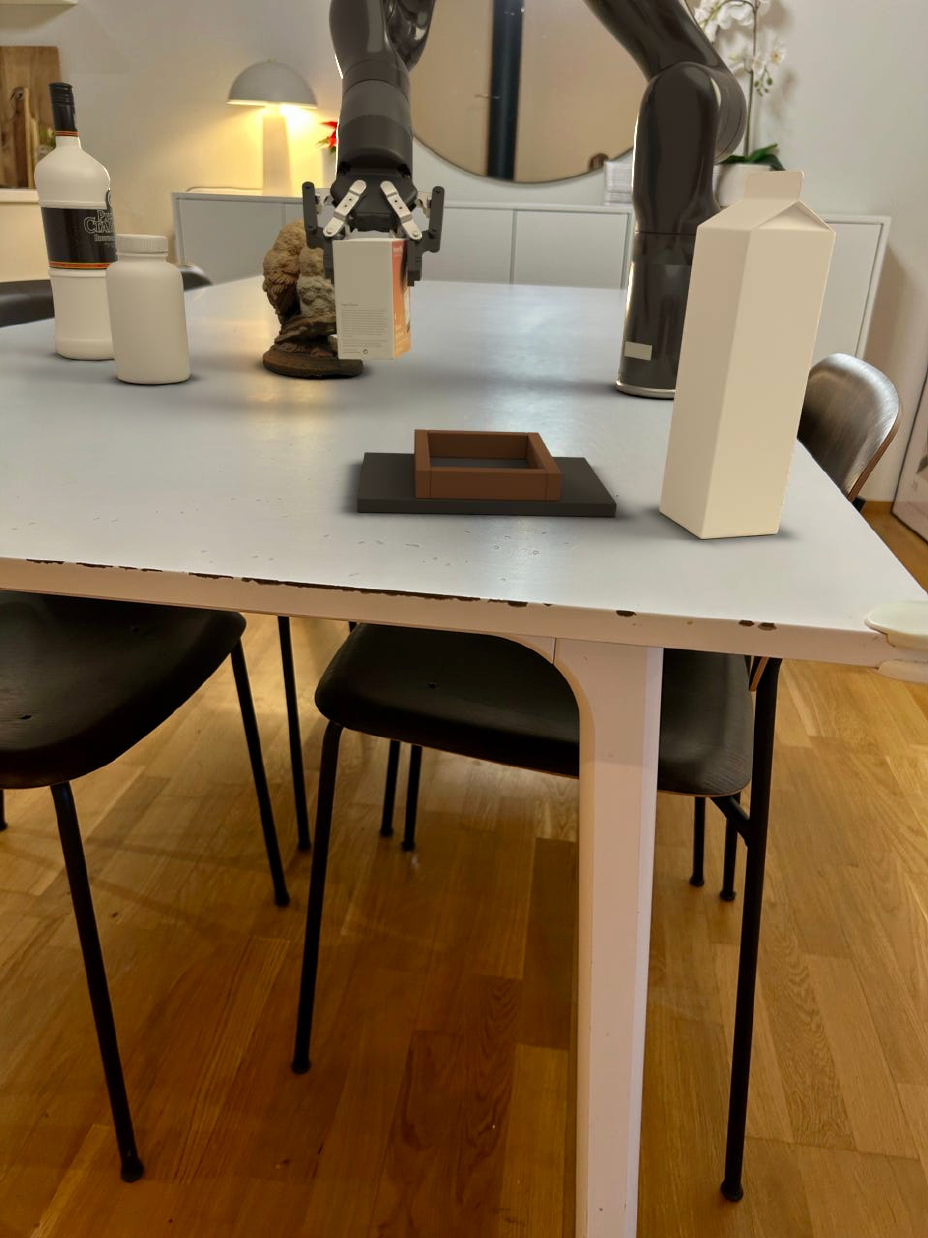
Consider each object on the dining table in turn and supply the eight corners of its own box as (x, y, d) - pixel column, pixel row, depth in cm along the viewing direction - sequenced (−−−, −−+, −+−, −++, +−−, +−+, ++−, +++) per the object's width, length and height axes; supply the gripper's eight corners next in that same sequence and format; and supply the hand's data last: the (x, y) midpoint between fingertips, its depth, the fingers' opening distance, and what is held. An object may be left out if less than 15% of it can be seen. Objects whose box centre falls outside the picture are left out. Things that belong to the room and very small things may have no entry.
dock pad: (583, 468, 74) (587, 432, 73) (615, 517, 63) (620, 475, 62) (364, 464, 73) (364, 427, 72) (357, 512, 62) (356, 469, 61)
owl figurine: (386, 378, 108) (387, 222, 100) (291, 383, 102) (284, 219, 95) (333, 355, 122) (330, 217, 115) (247, 358, 117) (238, 214, 109)
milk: (700, 540, 60) (757, 167, 50) (657, 511, 65) (702, 169, 55) (780, 534, 61) (849, 172, 52) (731, 506, 66) (787, 172, 57)
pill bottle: (206, 379, 103) (195, 236, 97) (149, 388, 97) (133, 237, 91) (158, 370, 107) (145, 232, 101) (101, 378, 101) (83, 232, 94)
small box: (394, 362, 84) (391, 240, 80) (336, 360, 85) (330, 239, 81) (412, 349, 92) (411, 237, 87) (359, 347, 92) (354, 236, 88)
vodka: (72, 348, 119) (35, 84, 106) (143, 350, 119) (115, 88, 106) (44, 359, 110) (0, 75, 98) (121, 362, 111) (87, 79, 98)
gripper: (445, 177, 94) (447, 308, 88) (306, 172, 93) (298, 304, 87) (448, 114, 87) (451, 253, 81) (298, 108, 86) (289, 247, 80)
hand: (372, 279), depth 84 cm, fingers closed on small box, 6 cm apart
